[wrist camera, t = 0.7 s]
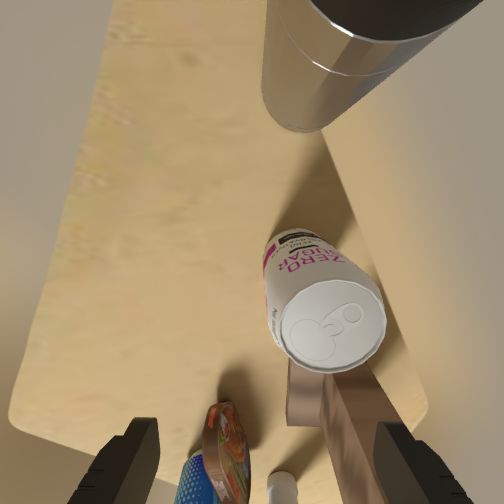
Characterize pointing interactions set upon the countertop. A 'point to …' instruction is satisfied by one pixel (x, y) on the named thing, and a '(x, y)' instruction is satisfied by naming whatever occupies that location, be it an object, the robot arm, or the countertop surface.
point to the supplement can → (320, 303)
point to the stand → (343, 423)
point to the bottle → (282, 488)
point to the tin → (226, 455)
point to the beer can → (195, 483)
